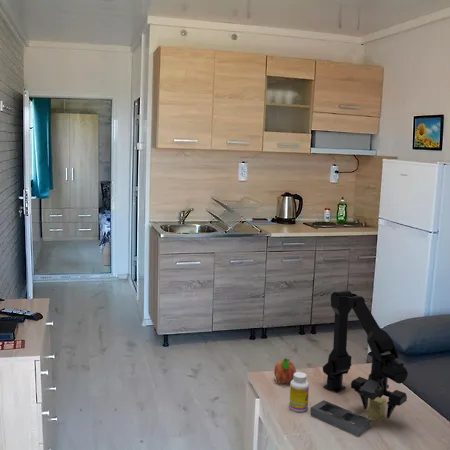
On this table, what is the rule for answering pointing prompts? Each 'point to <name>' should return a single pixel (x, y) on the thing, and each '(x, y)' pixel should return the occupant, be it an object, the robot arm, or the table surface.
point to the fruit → (284, 371)
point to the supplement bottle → (299, 392)
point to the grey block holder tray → (340, 418)
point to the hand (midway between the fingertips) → (376, 413)
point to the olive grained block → (377, 409)
